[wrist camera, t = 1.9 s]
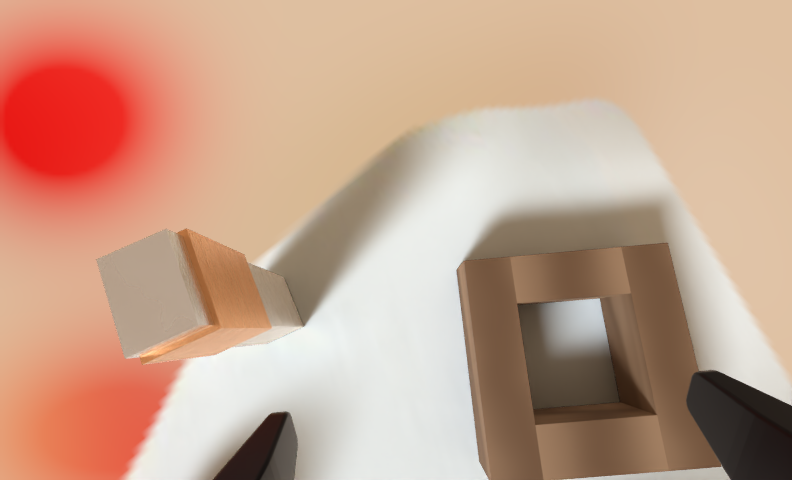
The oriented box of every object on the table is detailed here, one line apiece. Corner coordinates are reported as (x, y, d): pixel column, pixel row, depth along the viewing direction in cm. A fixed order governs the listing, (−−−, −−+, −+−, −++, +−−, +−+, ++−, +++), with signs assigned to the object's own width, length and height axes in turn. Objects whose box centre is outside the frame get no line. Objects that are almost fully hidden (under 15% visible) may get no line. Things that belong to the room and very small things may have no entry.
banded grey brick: (307, 328, 24) (206, 328, 12) (265, 348, 24) (120, 367, 12) (285, 273, 25) (170, 220, 13) (244, 291, 25) (89, 256, 13)
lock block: (479, 461, 22) (491, 485, 19) (456, 270, 25) (464, 260, 21) (673, 445, 22) (721, 466, 19) (631, 254, 25) (667, 242, 21)
